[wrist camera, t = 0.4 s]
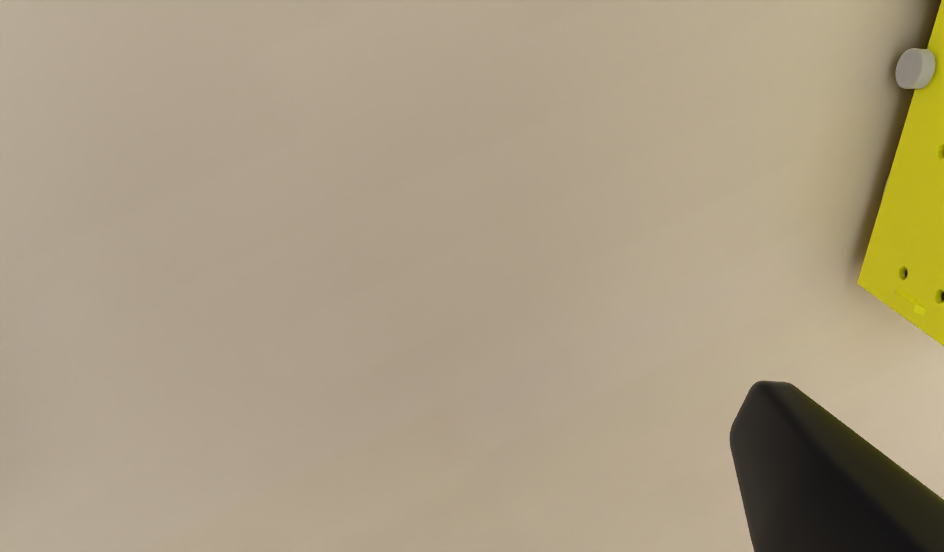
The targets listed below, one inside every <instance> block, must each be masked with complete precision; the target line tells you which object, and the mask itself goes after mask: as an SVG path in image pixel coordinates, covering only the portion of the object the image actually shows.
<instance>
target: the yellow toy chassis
mask: <svg viewBox="0 0 944 552" xmlns="http://www.w3.org/2000/svg"><path fill="white" fill-rule="evenodd" d="M896 81H897V83H898V85H899V86H900V87H902V88H907V89H915V91H914V94H913V98H912V101H911V104H910V108H909V111H908V114H907V118H906V121H905V125H904V128H903V131H902V135H901V138H900V141H899V145H898V148H897V151H896V155H895V158H894V161H893V165H892V168H891V171H890V175H889V177H888V179H887V181H886V184H885V187H884V191H883V198H882V202H881V205H880V208H879V212H878V215H877V218H876V222H875V225H874V228H873V232H872V235H871V238H870V242H869V245H868V249H867V252H866V255H865V259H864V262H863V265H862V269H861V272H860V275H859V279H858V282H857V284H859V285H860V286H861V287H863V288H864V289H866V290H867V291H868V292H870V293H871V294H872V295H874V296H875V297H877V298H878V299H879V300H881V301H882V302H884V303H885V304H886V305H888V306H889V307H890V308H892V309H893V310H895V311H896V312H897V313H899V314H900V315H901V316H903V317H904V318H906V319H907V320H908V321H910V322H911V323H913V324H914V325H915V326H917V327H918V328H919V329H921V330H922V331H924V332H925V333H926V334H928V335H929V336H931V337H932V338H933V339H935V340H936V341H937V342H939V343H940V344H942V345H943V346H944V0H941V4H940V7H939V11H938V14H937V17H936V21H935V24H934V27H933V31H932V34H931V37H930V41H929V44H928V47H927V49H919V48H910V49H908V50H906V51H905V52H904V53H903V54H902V56H901V57H900V59H899V61H898V63H897V67H896Z"/></svg>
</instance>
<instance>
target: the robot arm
mask: <svg viewBox="0 0 944 552" xmlns="http://www.w3.org/2000/svg"><path fill="white" fill-rule="evenodd" d="M730 447H731V451H732V456H733V460H734V465H735V469H736V474H737V478H738V483H739V487H740V491H741V496H742V500H743V505H744V509H745V514H746V518H747V523H748V527H749V532H750V536H751V540H752V544H753V548H754V552H944V500H943V499H942V498H941V497H939V496H938V495H937V494H935V493H934V492H933V491H931V490H930V489H929V488H927V487H926V486H925V485H923V484H922V483H921V482H920V481H918V480H917V479H916V478H914V477H913V476H912V475H910V474H909V473H908V472H906V471H905V470H904V469H903V468H901V467H900V466H899V465H897V464H896V463H895V462H893V461H892V460H891V459H889V458H888V457H887V456H885V455H884V454H883V453H882V452H880V451H879V450H878V449H876V448H875V447H874V446H872V445H871V444H870V443H868V442H867V441H866V440H865V439H863V438H862V437H861V436H859V435H858V434H857V433H855V432H854V431H853V430H851V429H850V428H849V427H847V426H846V425H845V424H844V423H842V422H841V421H840V420H838V419H837V418H836V417H834V416H833V415H832V414H830V413H829V412H828V411H827V410H825V409H824V408H823V407H821V406H820V405H819V404H817V403H816V402H815V401H813V400H812V399H811V398H809V397H808V396H807V395H806V394H804V393H803V392H802V391H800V390H799V389H798V388H796V387H795V386H794V385H792V384H790V383H786V382H775V381H759V382H756V383H755V384H754V385H753V386H752V387H751V389H750V390H749V392H748V394H747V396H746V398H745V400H744V402H743V404H742V406H741V408H740V410H739V412H738V414H737V416H736V418H735V420H734V422H733V424H732V427H731V431H730Z"/></svg>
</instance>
